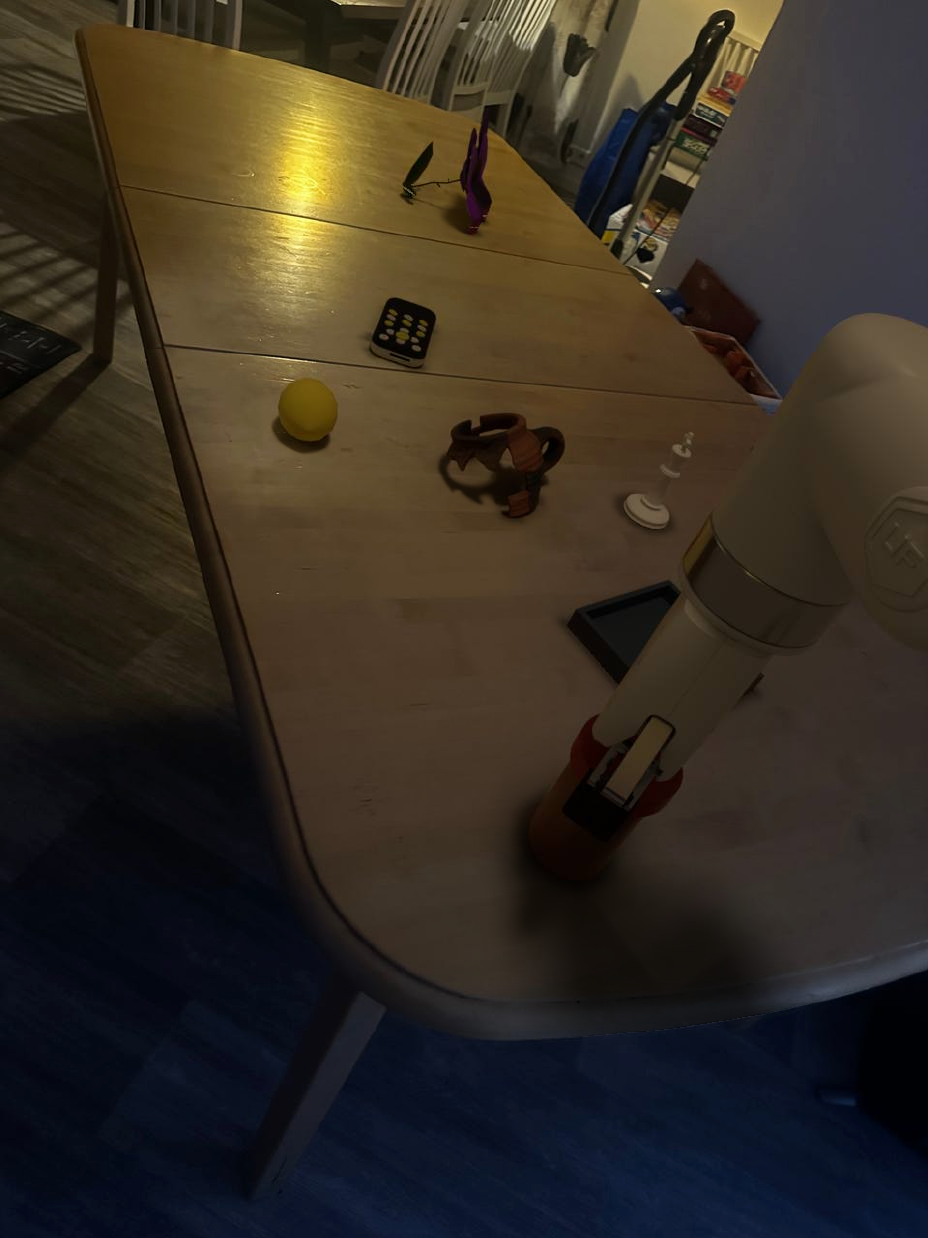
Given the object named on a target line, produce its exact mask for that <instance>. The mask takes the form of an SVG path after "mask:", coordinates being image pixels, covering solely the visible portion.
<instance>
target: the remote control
mask: <svg viewBox="0 0 928 1238" xmlns="http://www.w3.org/2000/svg"><path fill="white" fill-rule="evenodd" d="M436 321H437V316H436V312H434V311H433V310H432V309H430V308H428V307H426V306H423V305H420V304H418V303H416V302H412V301H409V300H406V299H403V298H401V297H390V298H388V299H387V300H386V301H385V304H384V306H383V308H382V312H381V314H380V316H379V319H378V321H377V323H376V326H375V329H374V331H373V334H372V336H371V340H370V344H369V345H370V349H371V351H372V353H374V354H375V355H377V356H379V357H381V358H384V359H387V360H390V361H393V362H395V363H398V364H402V365H405V366H408V367H412V368H418V367H421V366H422V365H423V364H425V360H426V356H427V353H428V350H429V346H430V343H431V339H432V336H433V333H434V328H435V325H436Z"/></svg>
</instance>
